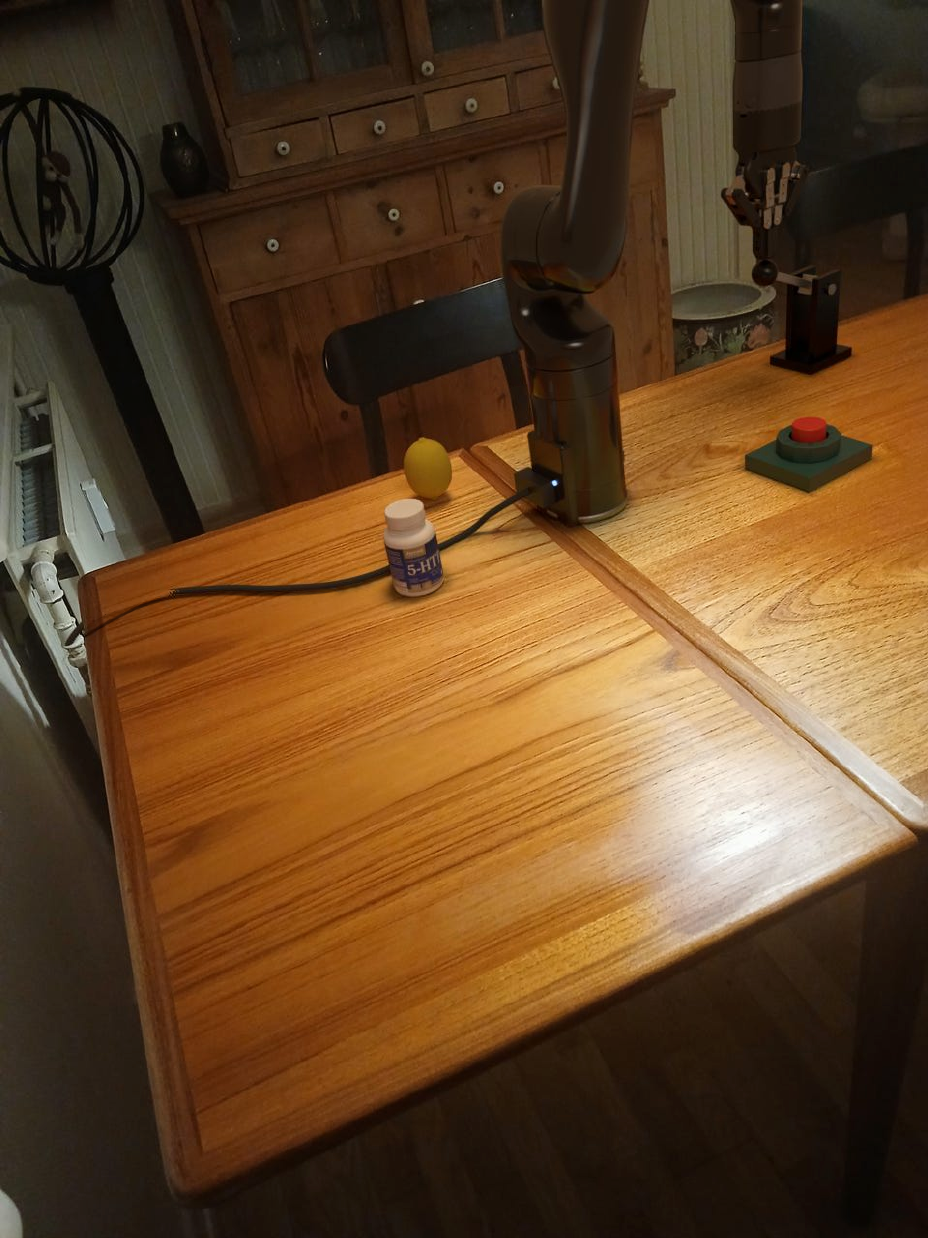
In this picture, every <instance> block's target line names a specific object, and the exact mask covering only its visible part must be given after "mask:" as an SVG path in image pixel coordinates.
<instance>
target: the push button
mask: <svg viewBox="0 0 928 1238" xmlns="http://www.w3.org/2000/svg"><path fill="white" fill-rule="evenodd" d="M827 424H828V423H827V421H826V420H825V419H824V418H822V417H819V416H802V417H799V418H796V419H794V420H793V421H792V422H791V425H792V428H791V439H792V440H793V441H796V442H799V443H815V442H821V441H823V440H825V439H826V429H827Z"/></svg>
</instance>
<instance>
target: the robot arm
mask: <svg viewBox="0 0 928 1238" xmlns="http://www.w3.org/2000/svg"><path fill="white" fill-rule="evenodd" d="M730 5H731V9H732V14H733V20H734V67H733V75H732V87H731V89H732V148H733V150H734V151H735V152H736V154H737V157H738V158H737V163H736V166H735V171H734V175H735V179H734V180H733V182H732V183H731V185H730V186H729V187H723V188H722V189H721V191H720V197H721V199H722V201H723V202H724V204H725V205H726V207H727V208H728V209H729V211H730V212H731V214H732V215H733V217H734V218H735V220H736V221H737V223H738V224H739V226H743V227H750V228H751V230H752V255H753V257H754V259H756V260H759V261H761V260H767V259H769V260H771V259H772V258H775V257H776V255H777V250H778V245H779V242H778V241H779V240H778V239H779V225H780V224H781V222H782V219H783V218H784V217H786V216H787V217H788V216H790V215H791V214H792V212H793V209H794V207H795V205H796V203H797V201H798V198H799V197H800V194H801V192H802V190H803V188H804V185H805V183H806V181H807V179H808V177H809V175H810V172H811V167H810V166H809V164H806V165H805V164H801V163H799V162H798V161H797V152H796V148H795V145H797V144H798V143H799V142H800V141H801V137H802V108H803V107H802V106H803V105H802V104H803V78H804V77H803V75H804V73H803V62H802V34H803V33H802V32H803V30H802V29H803V1H802V0H730ZM649 6H650V0H541V22H542V23H541V24H542V30H543V31H542V32H543V36H544V40H545V44H546V48H547V51H548V52H547V53H548V55H549V59H550V62H551V65H552V69H553V73H554V75H555V78H556V81H557V84H558V89H559V92H560V94H561V99H562V102H563V107H564V114H565V122H566V123H565V125H566V141H565V142H566V144H565V145H566V146H565V157H564V166H563V175H562V181H561V185H557V184H556V185H555V184H535V185H530V186H527V187H525V188H523V189H521V190H520V191H518V192H516V193H515V195H514V196H513V197H512V198H511V199H510V201H509V202H508V204H507V205H506V208H505V209H504V212H503V215H502V219H501V223H500V228H499V229H500V230H499V256H500V264H501V270H502V276H503V281H504V282H503V283H504V286H505V287H504V289H505V291H506V292H505V293H506V297H507V303H508V309H509V314H510V319H511V325H512V328H513V331H514V334H515V337H516V338H517V340H518V341H519V343H520V345H521V347H522V349H523V353H524V360H525V368H526V376H527V385H528V392H529V399H530V409H531V416H532V423H533V429H532V430H529V431H528V432H527V435H526V438H527V445H528V452H529V459H530V466H531V467H529V466H527V467H525V468H522V469H520V470H518V471H516V472H514V473H513V477H514V484H515V490H516V493H515V494H513V495H511V496H510V497H508V498H506V499H504V500H503V501H502V502H500V503H498V504H496V505H495V506H494V507H492V508H490V509H489V510H488V511H486V512H485V513H484V514H483V515H482V516H481V517H480V518H479V519H478V520H477V521H476V522H474V523H473V524H472V525H470V526H469V527H468V528H466V529H464V530H463V531H461V532H459V533H457V534H456V535H454V536H452V537H450V538H448V539H446V540H444V541H442V542H438V548H439V552H441V551H443V550H445V549H447V548H449V547H451V546H453V545H455V544H457V543H459V542H460V541H462V540H464V539H466V538H468V537H469V536H471V535H472V534H474V533H475V532H477V531H478V530H479V529H481V528H482V527H483V526H484V525H485V524H486V523H487V522H488V521H489V520H491V518H493V517H494V516H496V515H497V514H499V513H500V512H501V511H503V510H504V509H506V508H508V507H509V506H512V505H513V504H515V503H517V502H519V501H520V500H522V499H524V500H527V501H529V502H531V503H532V504H535V505H536V510H537V511H538V512H540V513H542V514H544V515H546V516H547V517H549V518H551V519H553V520H555V521H557V522H558V523H561V524H562V525H565V526H567V527H568V528H572V527H574V526H577V525H580V524H588V523H595V522H599V521H602V520H605V519H608V518H610V517H613V516H615V515H617V514H618V513H620V512H621V511H622V510H623V509H624V508H625V507H626V506H627V504H628V502H629V501H628V500H629V499H628V498H629V497H628V489H627V484H626V469H625V462H626V455H625V454H626V453H625V450H624V443H623V429H622V416H621V402H620V392H619V391H620V389H619V373H618V361H617V349H616V337H615V336H616V335H615V328H614V325H613V323H612V321H611V319H610V318H609V317H608V316H606V315H605V314H604V313H602V312H601V311H600V310H599V309H598V308H597V307H595V306H594V304H593V303H591V301H590V300H589V298H588V297H587V295H591V294H594V293H597V292H599V291H602V290H603V288H604V287H606V286H607V285H608V284H609V283H610V282H611V280H612V278H613V277H614V275H615V274H616V271H617V269H618V268H619V265H620V262H621V259H622V257H623V253H624V252H623V251H624V249H625V244H626V237H627V229H628V219H629V201H630V184H631V183H630V181H631V159H632V158H631V157H632V145H633V144H632V141H633V129H634V119H635V107H636V100H637V99H636V98H637V91H638V81H639V72H640V63H641V55H642V48H643V40H644V34H645V28H646V23H647V17H648V11H649ZM388 573H391V571H390V567H389V564H387V565H385V566H383V567H380V568H377V569H374V570H372V571H369V572H366V573H363V574H359V575H355V576H352V577H348V578H343V579H337V580H333V581H327V582H326V581H323V582H316V583H314V582H313V583H297V584H296V583H295V584H278V585H277V584H275V585H259V584H258V585H256V584H217V585H216V584H215V585H214V584H213V585H202V586H201V585H199V586H186V587H176V588H171V589H168V590H175V591H176V592H175V591H173V594H172V593H171V592H170V594H172V596H180V595H192V594H193V595H194V594H209V593H211V594H212V593H228V592H229V593H233V592H235V593H236V592H237V593H264V594H265V593H268V594H269V593H271V594H272V593H290V592H291V593H294V592H295V593H296V592H311V591H312V592H313V591H323V590H324V591H325V590H333V589H338V588H344V587H347V586H348V587H349V586H351V585H356V584H359V583H363V582H366V581H370V580H373V579H375V578H378V577H381V576H383V575H386V574H388ZM177 590H178V591H179V592H178V591H177ZM174 594H175V595H174ZM177 594H178V595H177ZM172 596H170V595H169V596H168V597H172ZM85 619H86V618H84V619H83V620H84V622H85ZM83 620H82V621H80V622H79V624H77V626H75V628H74V629H72V632H70V634H69V635H68V637H67V639H66V641H65V642H64V647H65V648H66V647H70V646H71V645H73V644H75V641H76V640H77V638H78V637H79V636H80V635H81V633H82V632H83V631H85V629H84V628H83V627H84V626H83Z"/></svg>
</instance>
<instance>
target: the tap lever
mask: <svg viewBox="0 0 928 1238" xmlns="http://www.w3.org/2000/svg"><path fill="white" fill-rule="evenodd" d="M751 269H752V270H751V279H752V281H753V283H754V284H755V285H757V286H759V287H769V286H771V285H773V284H774V283H775V281H776V282H779V283H783V284H786V285H787V284H790V285H794V286H797V287H799V289H798V293H800V294H804V295H807V296H811V294H812V279H813V278H815V277H818V276H819V275H816V276H814V275H807V274H803V277H802V278H799V277H795V276H792V275H788V274H789V273H785V272H781V271H779V267H778V265H777V263H776V262H775V261H773V260H772V259H767V260H759V261H757V262H756V263H755V264H754V265H753V267H752V268H751Z"/></svg>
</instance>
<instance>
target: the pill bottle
mask: <svg viewBox="0 0 928 1238" xmlns="http://www.w3.org/2000/svg"><path fill="white" fill-rule="evenodd" d="M383 515H384V519H385V524H386V526H387V527H386V528H385V529H384V531H383V535H382V539H383V545H384V550H385V553H386V558H387V563H388V565H389V567H390V571H391V572H390V576H391V579H392V584H393V588H394V589H395V591H396V592H397V593H398V594H400V595H402V596H405V597H421V596H425V595H428V594H431V593H433V592H434V591H436V590H438V589H439V588H440V587H441V586H442V584H443V583H444V581H445V575H444V569H443V565H442V559H441V553H440V551H439V548H438V544H439V542H438V538H437V533H436V528H435V526H434V524H433V523H432V522H431V521H430V520H429V519H427V517H426V516H427V515H426V510H425V506H424V502H423V501H422V500H419V499H417V498H416V499H415V498H403V499H399V500H396V501H394V502H391V503H389V504H388V505H387V506H386V507H385V508H384V510H383Z"/></svg>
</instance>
